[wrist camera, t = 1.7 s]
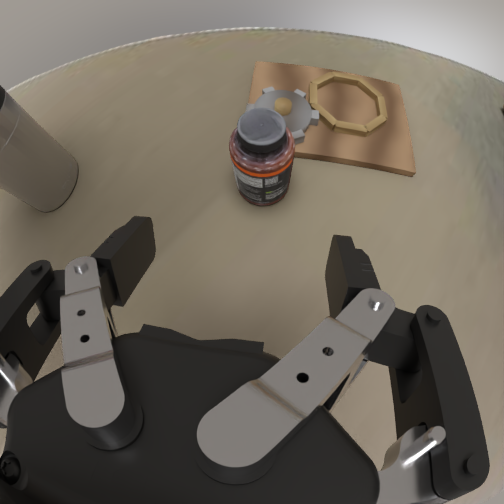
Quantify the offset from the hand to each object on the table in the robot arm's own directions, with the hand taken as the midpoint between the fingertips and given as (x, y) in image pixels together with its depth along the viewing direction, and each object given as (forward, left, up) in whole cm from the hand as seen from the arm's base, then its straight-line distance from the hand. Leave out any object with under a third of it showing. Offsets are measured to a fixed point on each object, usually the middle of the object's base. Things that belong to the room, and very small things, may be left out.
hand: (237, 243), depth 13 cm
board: (+8, +24, -18) cm, 31 cm away
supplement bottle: (0, +12, -18) cm, 22 cm away
